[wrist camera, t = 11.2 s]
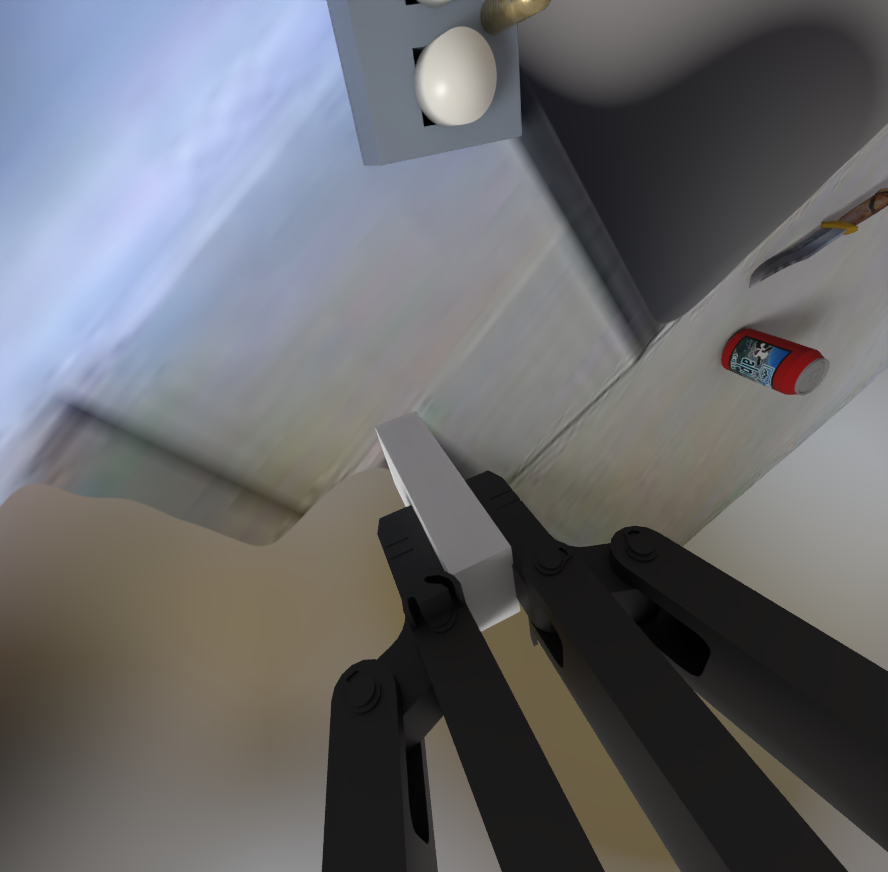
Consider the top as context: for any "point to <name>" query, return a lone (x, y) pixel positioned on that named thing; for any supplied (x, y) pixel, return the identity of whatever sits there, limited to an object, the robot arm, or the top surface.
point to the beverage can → (774, 362)
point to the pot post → (508, 13)
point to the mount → (392, 77)
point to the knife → (822, 237)
